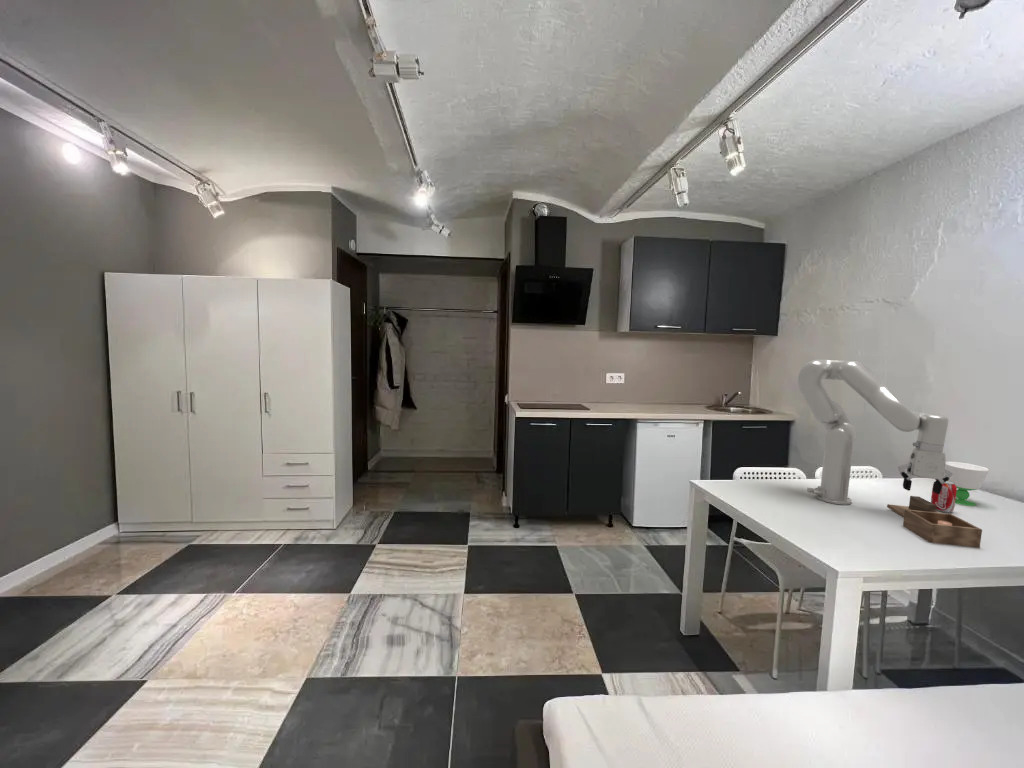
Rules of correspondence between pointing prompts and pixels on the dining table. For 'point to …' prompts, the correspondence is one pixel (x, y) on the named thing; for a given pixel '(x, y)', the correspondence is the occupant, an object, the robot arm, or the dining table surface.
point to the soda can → (945, 497)
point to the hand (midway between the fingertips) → (921, 491)
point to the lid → (914, 506)
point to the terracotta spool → (944, 522)
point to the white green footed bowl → (966, 479)
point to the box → (942, 528)
